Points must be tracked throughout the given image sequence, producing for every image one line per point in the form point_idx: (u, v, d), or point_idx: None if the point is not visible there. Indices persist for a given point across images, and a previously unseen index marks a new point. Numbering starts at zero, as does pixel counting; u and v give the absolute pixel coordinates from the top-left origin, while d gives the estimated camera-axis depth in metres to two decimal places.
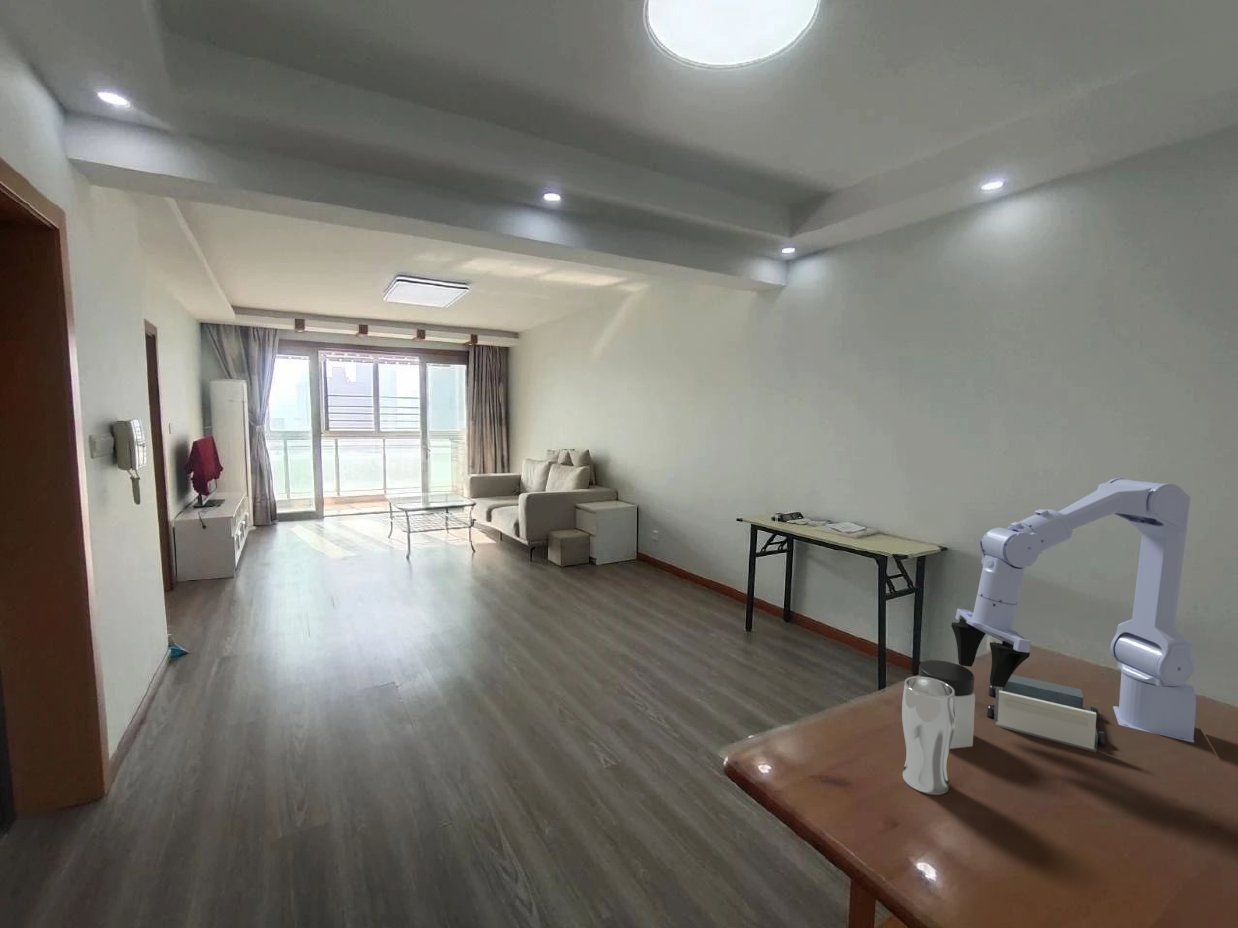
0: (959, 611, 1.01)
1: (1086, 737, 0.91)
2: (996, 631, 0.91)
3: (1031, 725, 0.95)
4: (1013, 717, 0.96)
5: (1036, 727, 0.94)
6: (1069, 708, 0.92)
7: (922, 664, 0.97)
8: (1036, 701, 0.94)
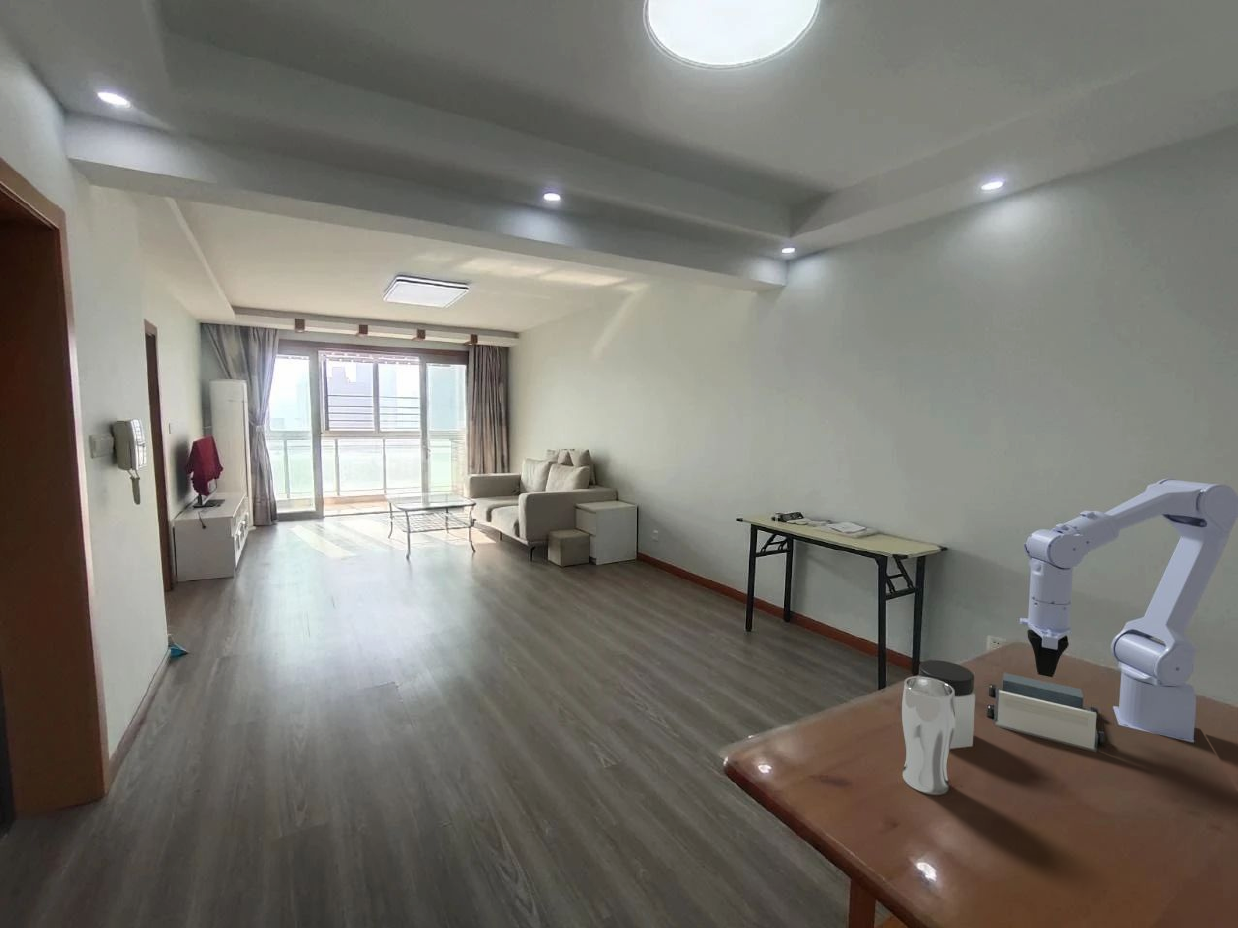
0: None
1: (1086, 737, 0.91)
2: (1034, 629, 0.95)
3: (1031, 725, 0.95)
4: (1013, 717, 0.96)
5: (1036, 727, 0.94)
6: (1069, 708, 0.92)
7: (922, 664, 0.97)
8: (1036, 701, 0.94)
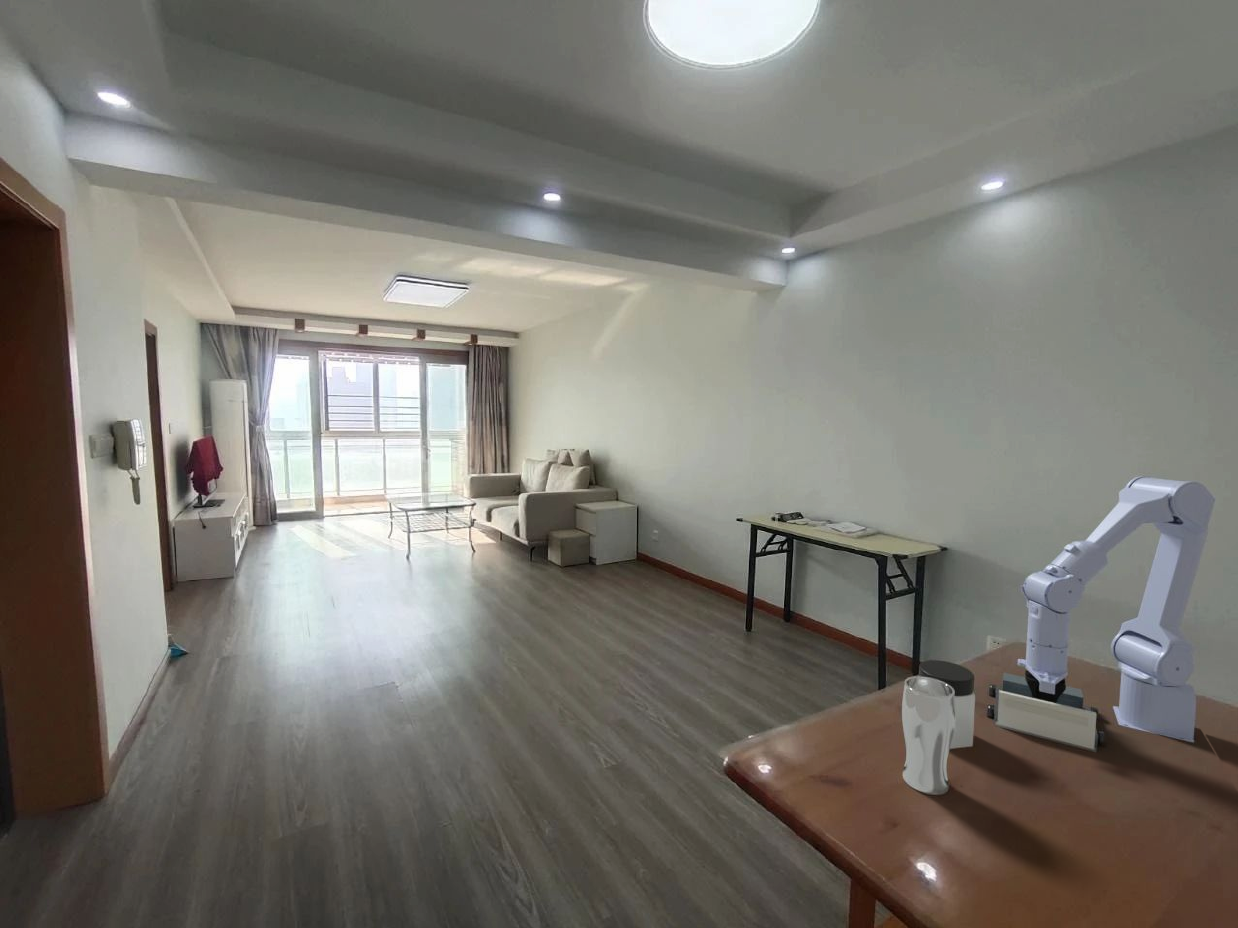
0: None
1: (1086, 737, 0.91)
2: (1032, 671, 0.96)
3: (1031, 725, 0.95)
4: (1013, 717, 0.96)
5: (1036, 727, 0.94)
6: (1069, 708, 0.92)
7: (922, 664, 0.97)
8: (1036, 701, 0.94)
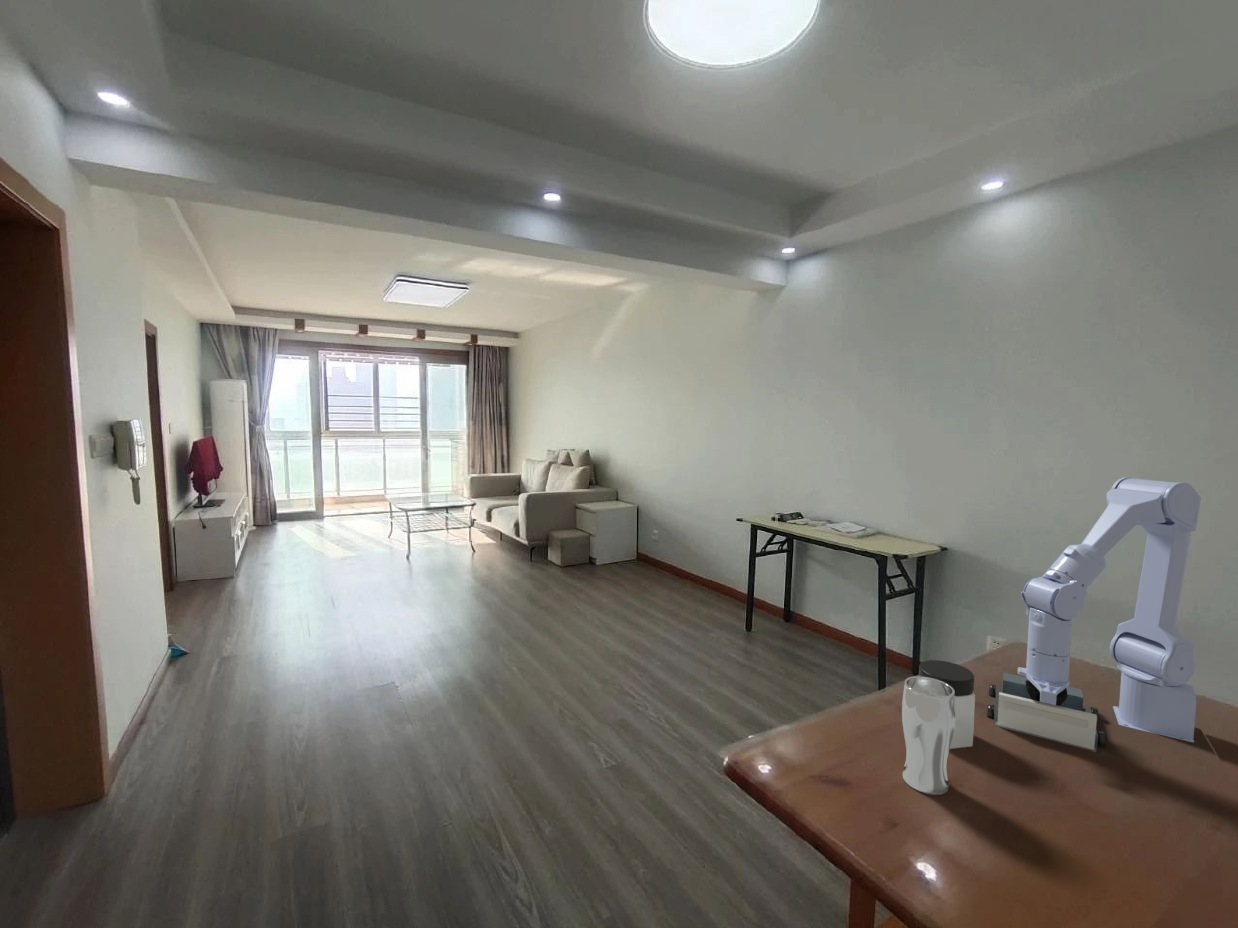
0: None
1: (1086, 738, 0.90)
2: (1032, 681, 0.92)
3: (1031, 726, 0.95)
4: (1013, 718, 0.96)
5: (1036, 728, 0.94)
6: (1069, 711, 0.91)
7: (922, 664, 0.97)
8: (1036, 703, 0.94)
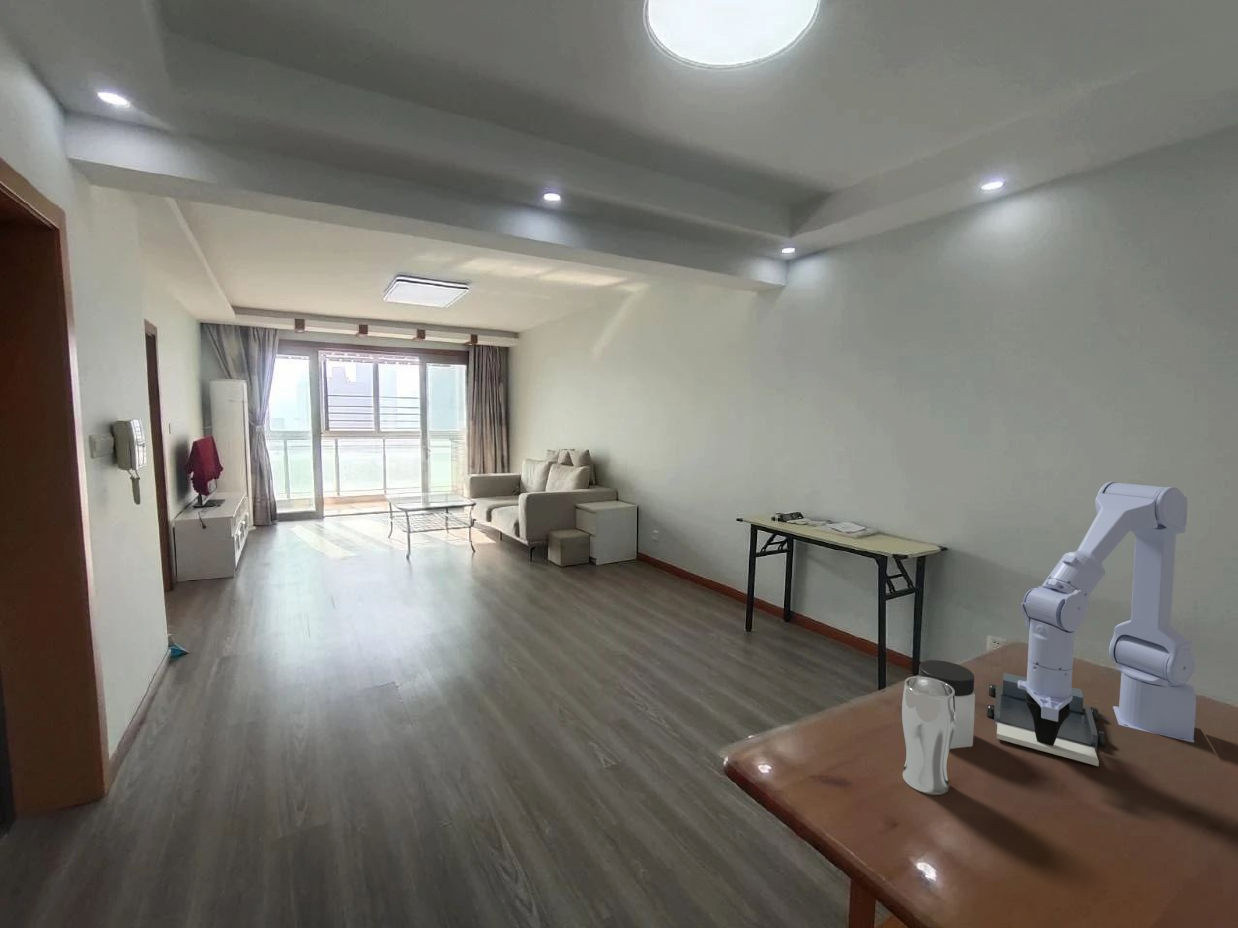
0: None
1: None
2: (1033, 695, 0.88)
3: None
4: None
5: None
6: (1070, 757, 0.88)
7: (922, 664, 0.97)
8: (1035, 748, 0.90)
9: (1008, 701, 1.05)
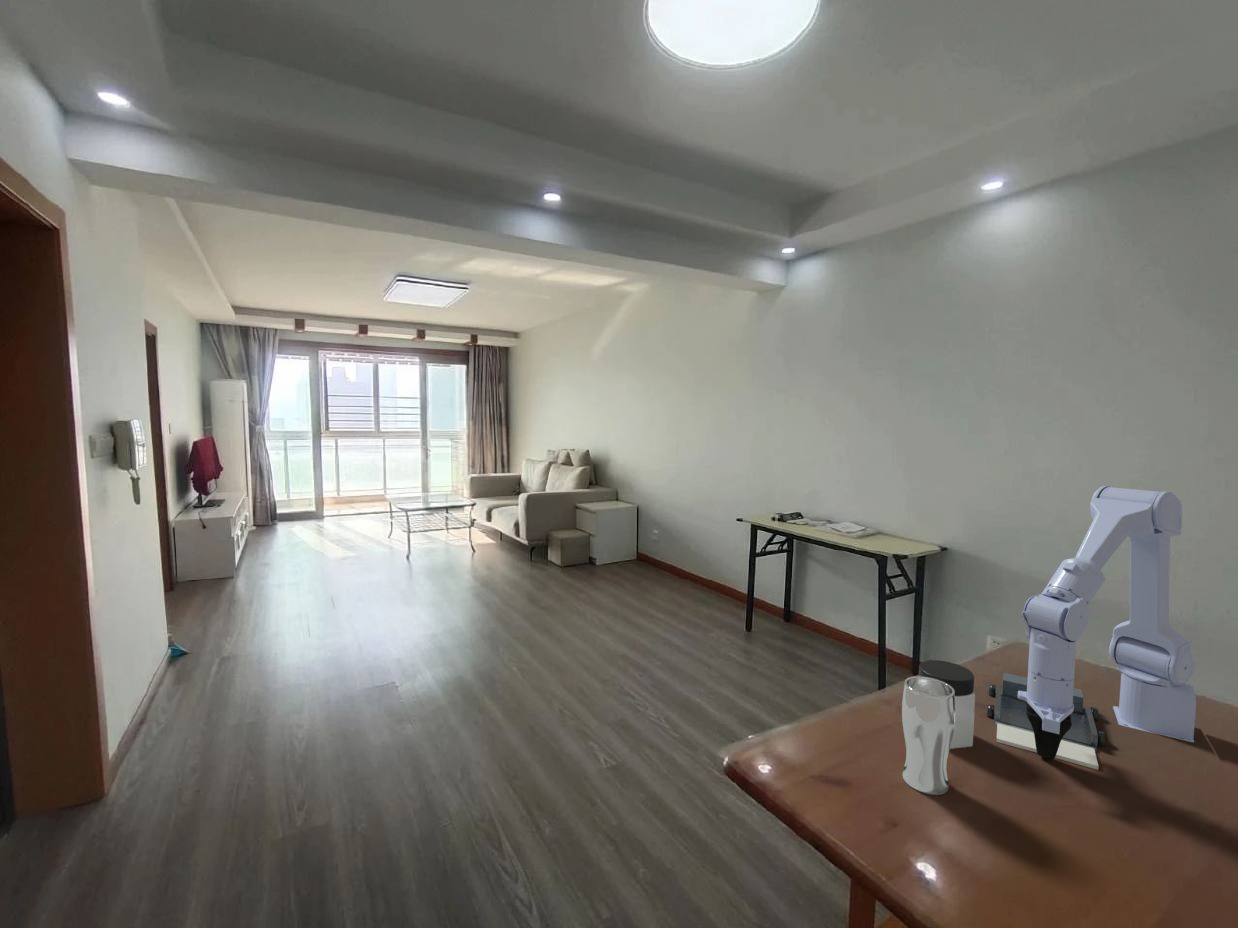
0: None
1: None
2: (1034, 706, 0.86)
3: None
4: None
5: None
6: None
7: (922, 664, 0.97)
8: (1035, 752, 0.90)
9: (1008, 701, 1.05)
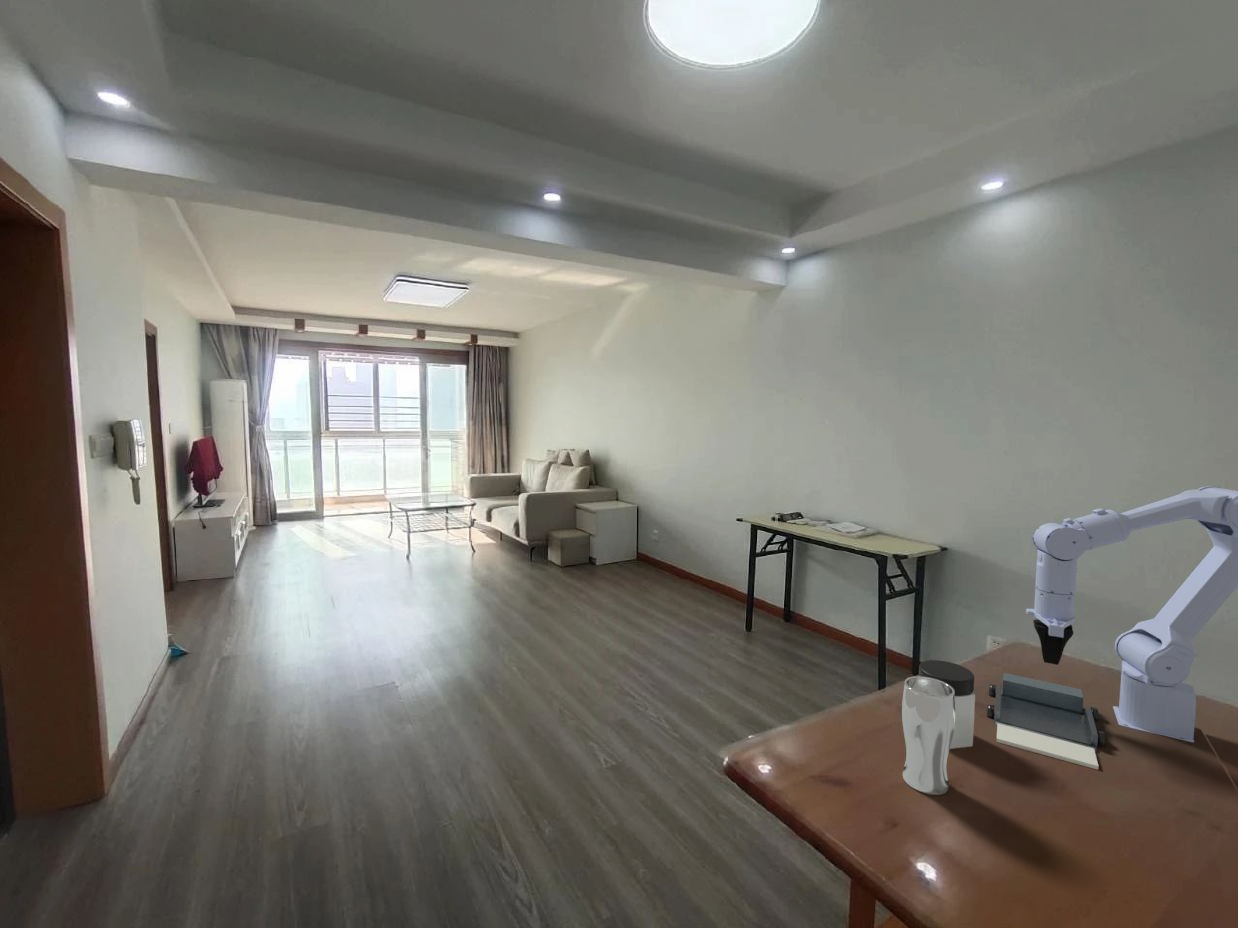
0: None
1: None
2: (1041, 618, 1.00)
3: None
4: None
5: None
6: None
7: (922, 664, 0.97)
8: (1035, 752, 0.90)
9: (1008, 701, 1.05)
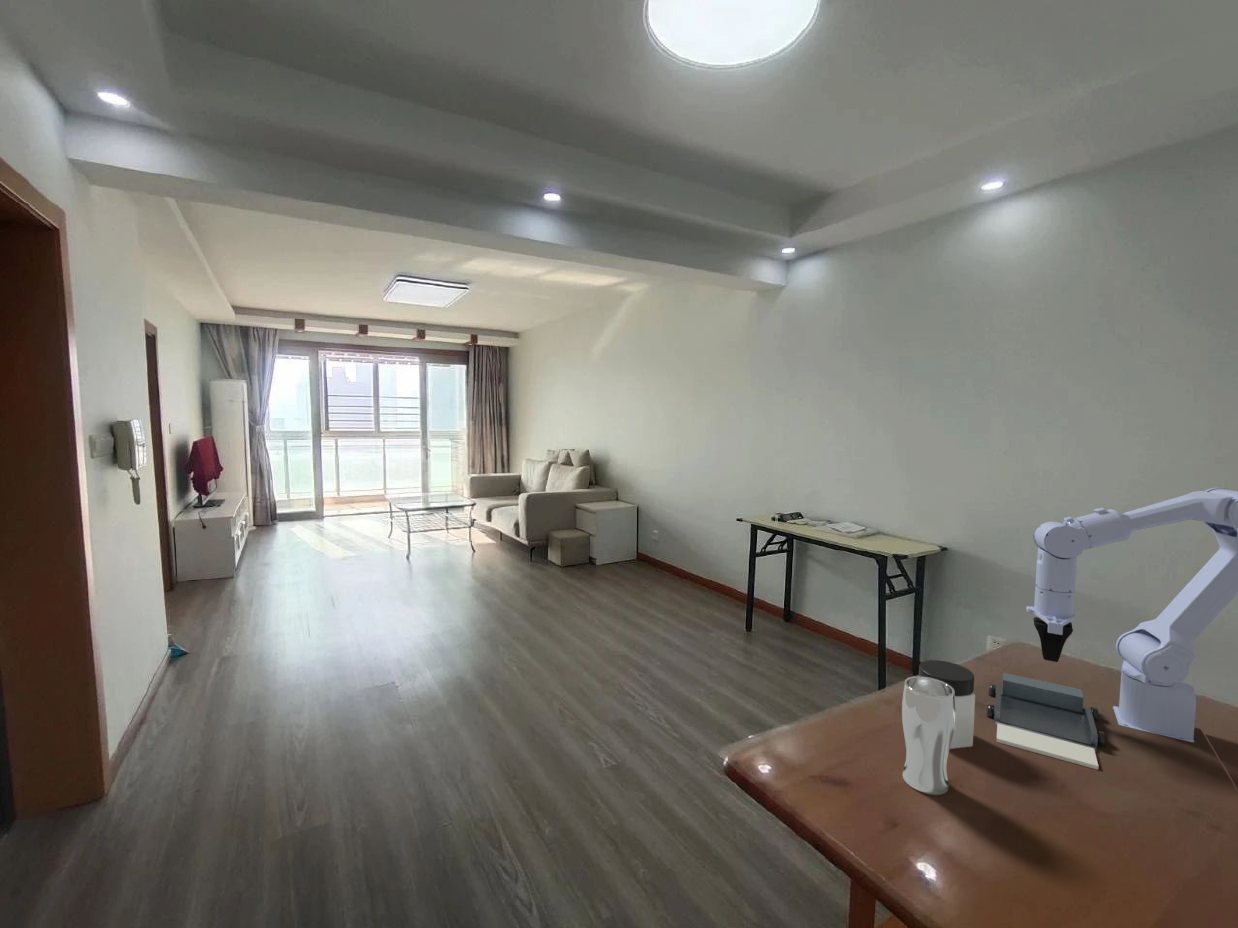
0: None
1: None
2: (1040, 616, 1.00)
3: None
4: None
5: None
6: None
7: (922, 664, 0.97)
8: (1035, 752, 0.90)
9: (1008, 701, 1.05)
